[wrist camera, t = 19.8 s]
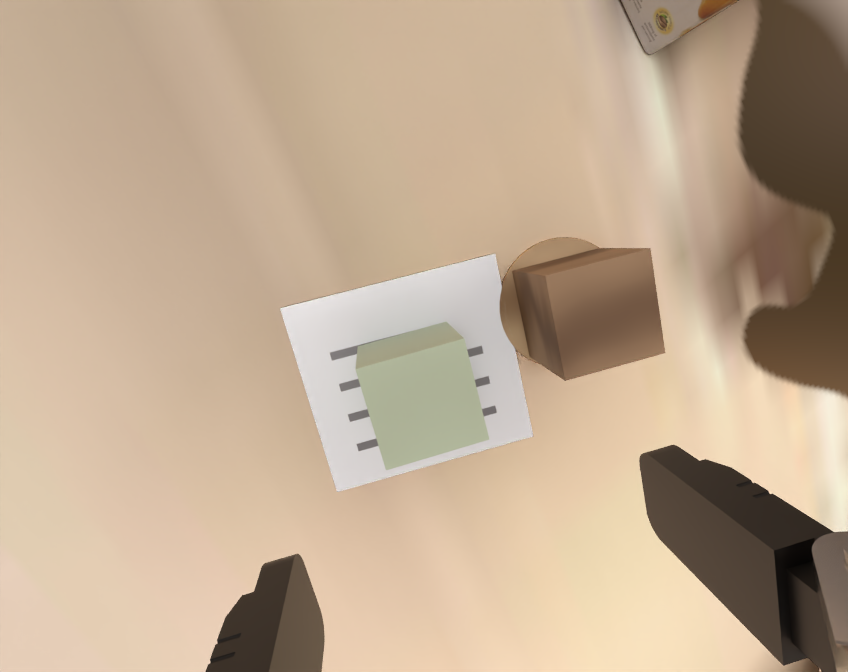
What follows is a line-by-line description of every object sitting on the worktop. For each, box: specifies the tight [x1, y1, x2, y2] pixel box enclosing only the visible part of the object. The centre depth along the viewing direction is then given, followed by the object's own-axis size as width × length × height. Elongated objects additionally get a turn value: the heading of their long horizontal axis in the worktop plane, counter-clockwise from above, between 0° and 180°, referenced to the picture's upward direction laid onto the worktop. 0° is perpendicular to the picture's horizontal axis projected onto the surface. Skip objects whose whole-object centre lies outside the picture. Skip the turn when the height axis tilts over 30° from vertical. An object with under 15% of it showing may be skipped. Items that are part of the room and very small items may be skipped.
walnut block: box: [512, 248, 665, 381], centre depth 27 cm, size 6×6×6 cm
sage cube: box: [355, 322, 489, 470], centre depth 26 cm, size 6×6×6 cm
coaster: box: [500, 237, 599, 364], centre depth 29 cm, size 8×8×1 cm
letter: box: [280, 254, 533, 492], centre depth 29 cm, size 12×13×1 cm
